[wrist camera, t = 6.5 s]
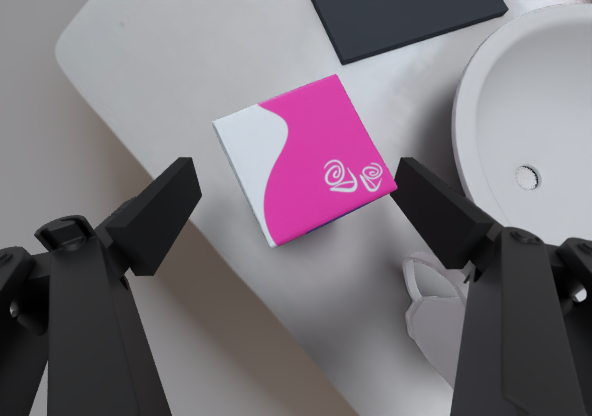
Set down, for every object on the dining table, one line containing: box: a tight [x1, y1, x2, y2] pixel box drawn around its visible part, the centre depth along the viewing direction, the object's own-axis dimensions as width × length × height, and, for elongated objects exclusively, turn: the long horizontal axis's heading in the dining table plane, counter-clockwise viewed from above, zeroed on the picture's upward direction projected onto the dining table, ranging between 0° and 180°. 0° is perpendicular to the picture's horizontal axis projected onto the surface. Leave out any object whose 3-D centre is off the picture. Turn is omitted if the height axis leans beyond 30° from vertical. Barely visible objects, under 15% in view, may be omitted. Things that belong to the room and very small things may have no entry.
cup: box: [403, 252, 469, 389], centre depth 15 cm, size 7×10×8 cm
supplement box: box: [212, 74, 397, 248], centre depth 14 cm, size 6×6×12 cm
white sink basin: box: [451, 3, 592, 301], centre depth 18 cm, size 24×24×7 cm
